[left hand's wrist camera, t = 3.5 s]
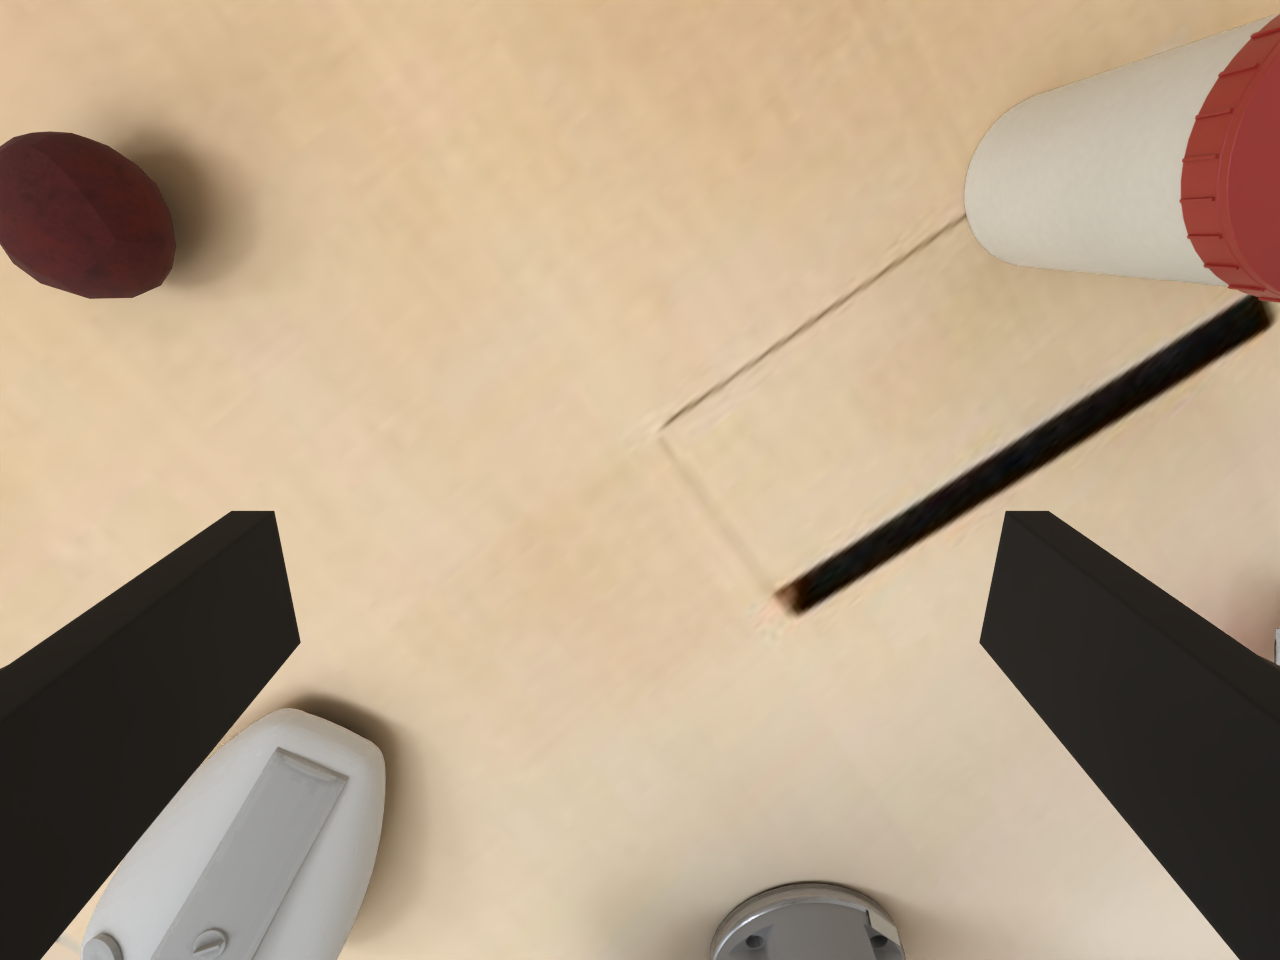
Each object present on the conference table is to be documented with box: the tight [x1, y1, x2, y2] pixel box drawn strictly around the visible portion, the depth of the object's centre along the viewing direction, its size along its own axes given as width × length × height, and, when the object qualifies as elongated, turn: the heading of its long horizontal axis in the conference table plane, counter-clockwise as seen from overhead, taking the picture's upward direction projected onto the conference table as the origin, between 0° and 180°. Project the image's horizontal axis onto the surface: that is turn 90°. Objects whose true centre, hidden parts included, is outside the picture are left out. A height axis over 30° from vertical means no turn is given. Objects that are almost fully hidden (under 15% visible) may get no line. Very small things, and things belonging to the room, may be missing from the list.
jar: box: [964, 13, 1280, 286], centre depth 28 cm, size 8×8×17 cm
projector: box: [81, 708, 386, 960], centre depth 44 cm, size 22×23×15 cm
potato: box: [0, 132, 176, 299], centre depth 33 cm, size 7×8×7 cm
